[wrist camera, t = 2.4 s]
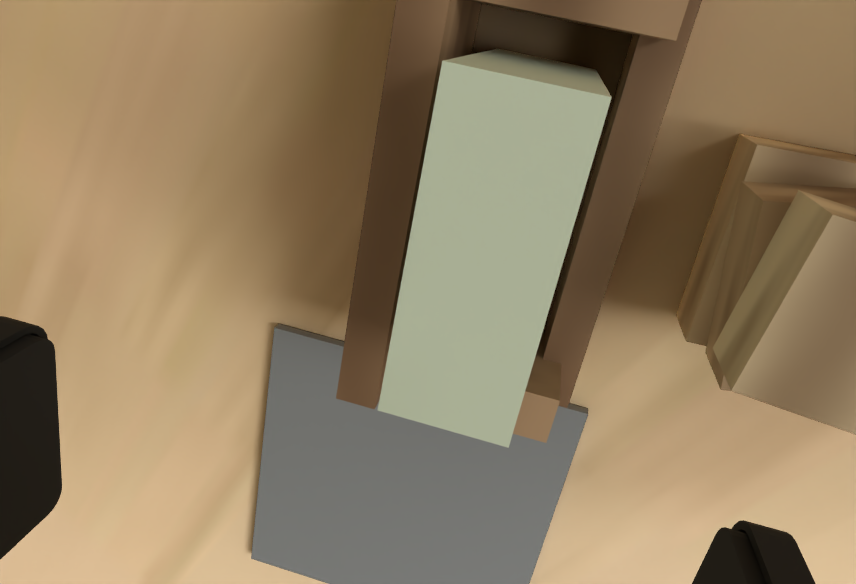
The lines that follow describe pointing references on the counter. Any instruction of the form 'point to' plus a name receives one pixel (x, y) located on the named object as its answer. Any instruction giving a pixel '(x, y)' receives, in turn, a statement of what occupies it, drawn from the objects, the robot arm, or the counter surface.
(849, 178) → the block
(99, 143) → the counter surface
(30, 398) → the robot arm
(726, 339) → the offcut top
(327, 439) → the mat
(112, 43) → the counter surface
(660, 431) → the counter surface
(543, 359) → the rack
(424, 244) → the sage green brick
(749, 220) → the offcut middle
